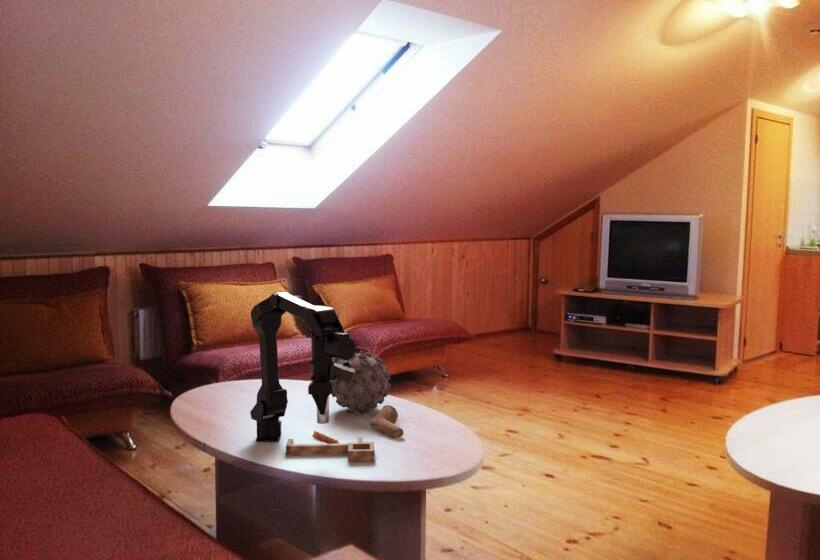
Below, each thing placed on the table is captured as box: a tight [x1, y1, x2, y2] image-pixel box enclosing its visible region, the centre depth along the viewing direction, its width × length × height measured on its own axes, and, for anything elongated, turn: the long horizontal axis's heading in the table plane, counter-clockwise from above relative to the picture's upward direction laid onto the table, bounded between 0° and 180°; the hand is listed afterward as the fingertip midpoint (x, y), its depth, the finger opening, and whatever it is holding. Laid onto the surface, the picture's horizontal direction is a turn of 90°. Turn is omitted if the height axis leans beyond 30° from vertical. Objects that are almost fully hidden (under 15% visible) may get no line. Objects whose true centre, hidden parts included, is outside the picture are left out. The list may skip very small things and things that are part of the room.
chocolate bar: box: [311, 430, 340, 444], centre depth 206 cm, size 3×12×2 cm, turn 40°
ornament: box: [330, 350, 391, 414], centre depth 237 cm, size 20×20×20 cm
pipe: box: [369, 404, 404, 439], centre depth 217 cm, size 6×17×10 cm
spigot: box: [316, 395, 330, 425], centre depth 190 cm, size 3×3×8 cm
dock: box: [285, 436, 376, 463], centre depth 195 cm, size 24×13×3 cm, turn 95°
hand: (323, 412), depth 190 cm, fingers closed on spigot, 3 cm apart
